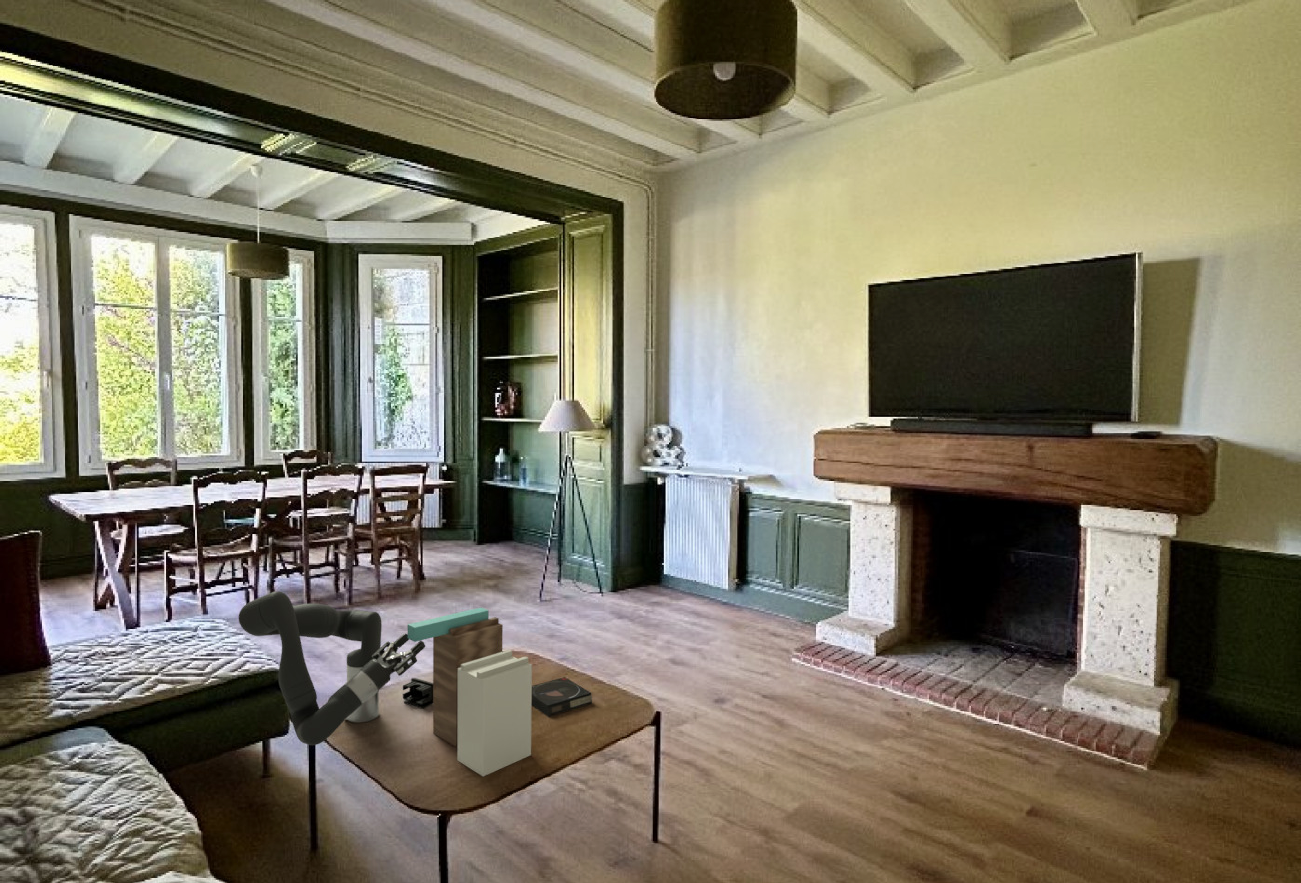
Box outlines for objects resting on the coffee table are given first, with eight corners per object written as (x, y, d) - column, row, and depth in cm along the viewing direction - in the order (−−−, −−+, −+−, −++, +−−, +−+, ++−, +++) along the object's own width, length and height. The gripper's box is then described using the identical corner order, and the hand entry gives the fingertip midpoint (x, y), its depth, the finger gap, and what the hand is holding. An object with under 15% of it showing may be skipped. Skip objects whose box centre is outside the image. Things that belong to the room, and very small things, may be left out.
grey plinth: (482, 776, 191) (483, 674, 190) (457, 760, 199) (457, 662, 198) (530, 755, 203) (531, 659, 201) (505, 740, 211) (505, 648, 209)
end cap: (440, 701, 237) (440, 681, 237) (424, 709, 231) (424, 688, 231) (418, 695, 242) (418, 675, 242) (401, 702, 236) (401, 682, 236)
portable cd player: (548, 718, 227) (548, 706, 227) (522, 700, 241) (522, 688, 240) (592, 705, 238) (592, 693, 237) (564, 688, 251) (564, 677, 251)
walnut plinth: (455, 746, 207) (456, 632, 205) (433, 733, 215) (433, 622, 213) (501, 728, 219) (502, 619, 217) (478, 716, 227) (479, 611, 225)
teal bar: (414, 641, 200) (414, 627, 200) (407, 638, 203) (407, 624, 203) (488, 623, 218) (488, 610, 218) (481, 620, 221) (481, 607, 220)
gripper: (373, 679, 186) (422, 635, 196) (348, 664, 196) (396, 623, 205) (387, 699, 189) (435, 655, 199) (361, 684, 199) (408, 642, 209)
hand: (415, 639), depth 202 cm, fingers open, 8 cm apart
